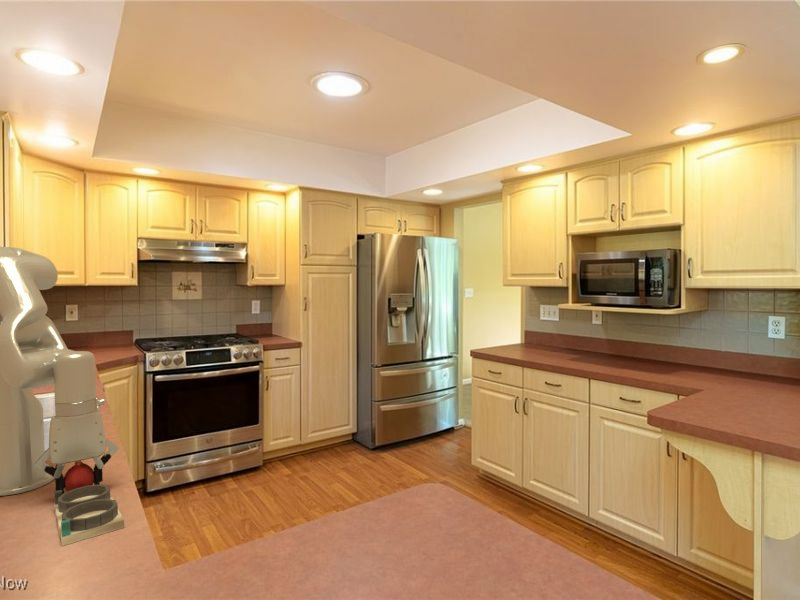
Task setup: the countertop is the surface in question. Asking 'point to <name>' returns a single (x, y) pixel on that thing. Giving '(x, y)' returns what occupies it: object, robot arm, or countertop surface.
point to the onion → (79, 476)
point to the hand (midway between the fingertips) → (79, 488)
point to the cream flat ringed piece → (86, 513)
